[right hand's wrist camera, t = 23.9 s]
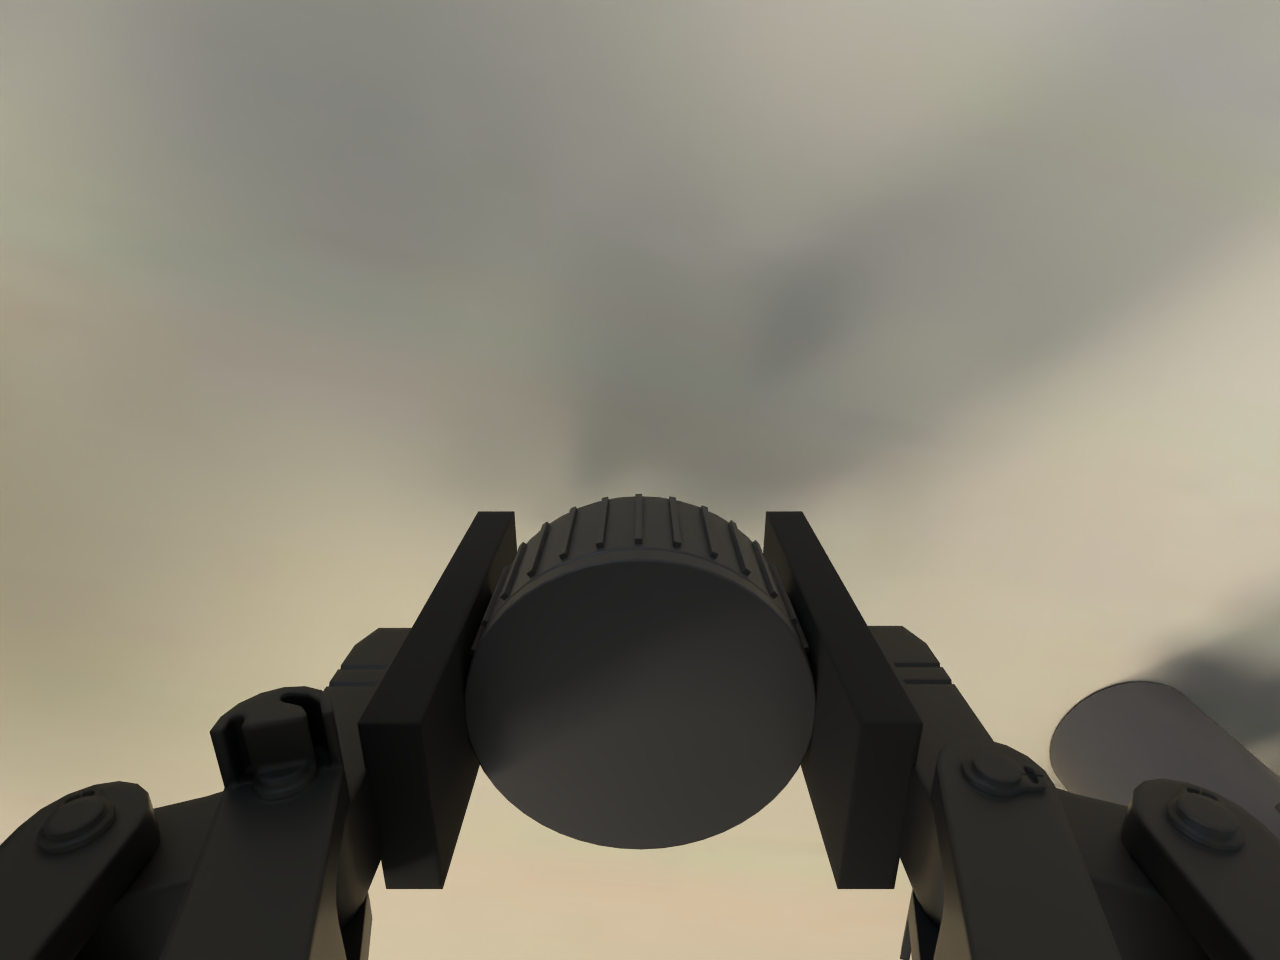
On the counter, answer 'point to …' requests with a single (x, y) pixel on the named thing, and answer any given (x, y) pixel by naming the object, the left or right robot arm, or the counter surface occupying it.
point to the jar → (1157, 750)
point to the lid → (640, 676)
